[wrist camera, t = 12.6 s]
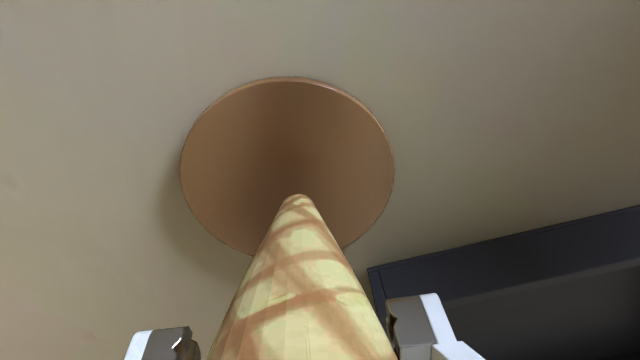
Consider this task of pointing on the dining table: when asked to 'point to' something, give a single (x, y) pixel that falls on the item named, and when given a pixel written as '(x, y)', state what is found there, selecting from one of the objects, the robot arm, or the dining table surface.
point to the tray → (535, 290)
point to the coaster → (285, 160)
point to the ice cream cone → (300, 298)
